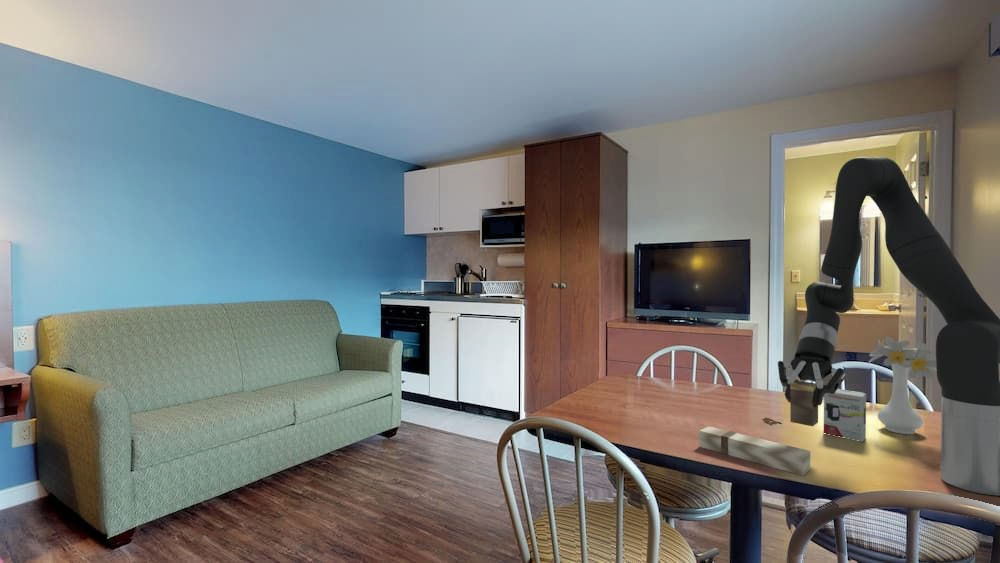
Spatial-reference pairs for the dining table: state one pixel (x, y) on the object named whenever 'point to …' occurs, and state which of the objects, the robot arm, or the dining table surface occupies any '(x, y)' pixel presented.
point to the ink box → (845, 414)
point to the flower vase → (903, 382)
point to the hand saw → (770, 420)
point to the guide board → (756, 450)
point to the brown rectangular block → (803, 403)
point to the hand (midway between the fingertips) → (801, 402)
